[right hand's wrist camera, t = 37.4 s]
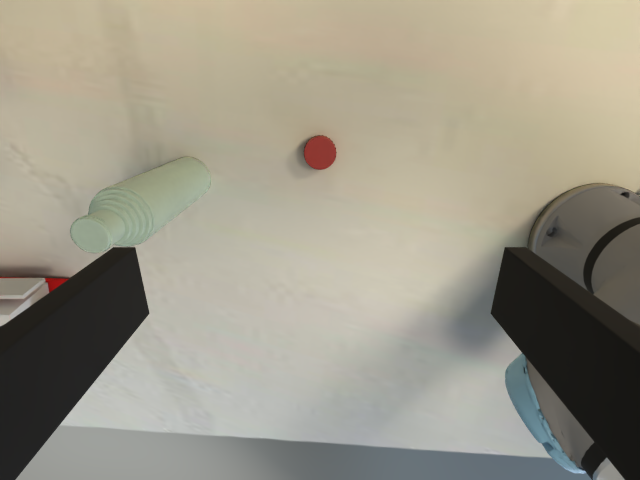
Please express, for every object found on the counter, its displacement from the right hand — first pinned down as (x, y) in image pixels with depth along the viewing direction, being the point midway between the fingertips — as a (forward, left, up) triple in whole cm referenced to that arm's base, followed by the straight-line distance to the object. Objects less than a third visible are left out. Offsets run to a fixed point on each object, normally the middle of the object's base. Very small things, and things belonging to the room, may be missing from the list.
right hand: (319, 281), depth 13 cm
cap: (0, 0, -33) cm, 33 cm away
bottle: (+16, -6, -35) cm, 39 cm away
